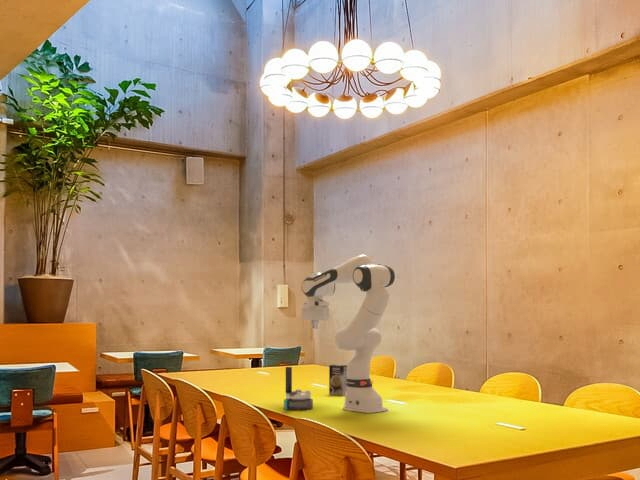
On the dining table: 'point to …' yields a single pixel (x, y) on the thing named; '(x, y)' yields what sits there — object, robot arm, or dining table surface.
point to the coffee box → (337, 379)
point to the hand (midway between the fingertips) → (314, 328)
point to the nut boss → (298, 405)
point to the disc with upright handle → (297, 394)
